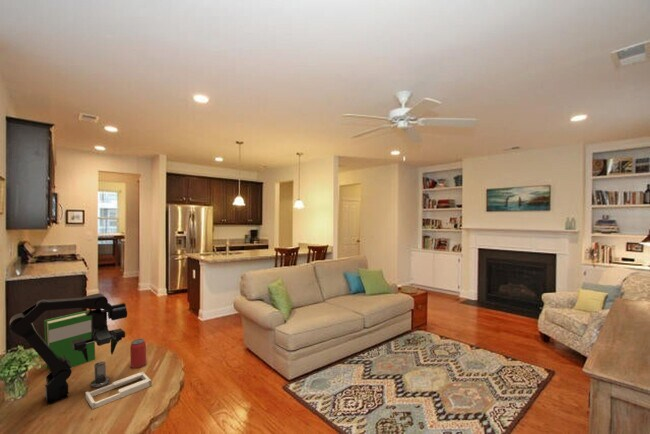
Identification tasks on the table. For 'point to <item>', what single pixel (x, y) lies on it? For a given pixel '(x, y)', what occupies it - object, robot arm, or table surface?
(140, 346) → the beer can
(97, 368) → the dark grey rounded piece
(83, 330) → the hardback book
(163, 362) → the table surface
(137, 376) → the keyhole dock
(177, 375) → the table surface
